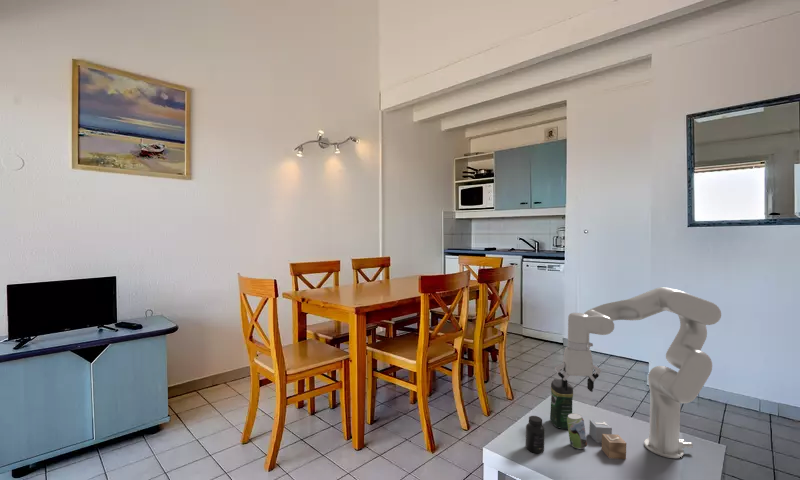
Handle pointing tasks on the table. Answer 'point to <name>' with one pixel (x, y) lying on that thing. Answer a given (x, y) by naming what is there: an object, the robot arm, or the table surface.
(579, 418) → the beverage can
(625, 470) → the table surface
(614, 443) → the walnut digit block
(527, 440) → the supplement bottle
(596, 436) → the slate digit block
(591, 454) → the table surface
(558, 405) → the coffee jar
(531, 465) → the table surface
